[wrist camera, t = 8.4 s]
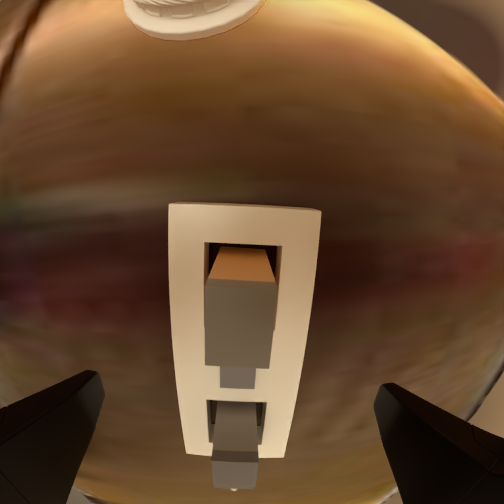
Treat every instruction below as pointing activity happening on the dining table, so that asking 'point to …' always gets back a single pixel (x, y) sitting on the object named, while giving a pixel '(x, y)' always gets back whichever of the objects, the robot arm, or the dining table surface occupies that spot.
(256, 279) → the plug
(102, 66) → the dining table surface
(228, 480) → the twin plug
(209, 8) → the decorative container
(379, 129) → the dining table surface
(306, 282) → the power strip
